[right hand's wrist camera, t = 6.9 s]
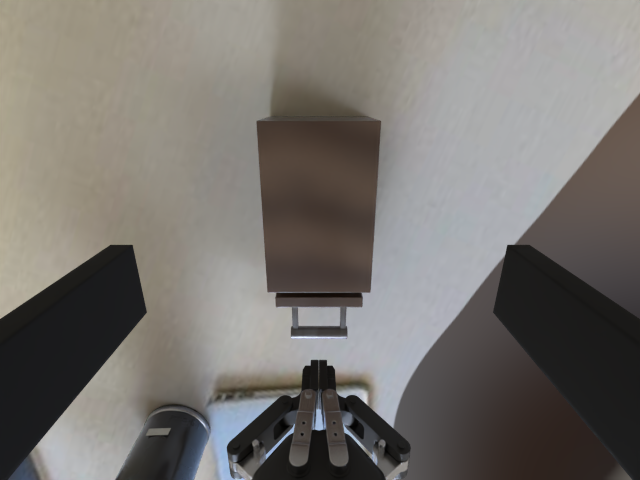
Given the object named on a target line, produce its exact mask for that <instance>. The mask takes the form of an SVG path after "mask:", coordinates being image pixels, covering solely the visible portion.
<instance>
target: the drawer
mask: <svg viewBox="0 0 640 480" xmlns="http://www.w3.org/2000/svg"><path fill="white" fill-rule="evenodd" d="M362 300H363V297H362V293H276V307H292V320H293V326H292V327H291V338H292V339H347V326H346V307H362ZM298 307H340V326H298Z"/></svg>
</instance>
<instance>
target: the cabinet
mask: <svg viewBox="0 0 640 480" xmlns="http://www.w3.org/2000/svg"><path fill="white" fill-rule="evenodd" d="M380 130H381V121H379V120H376V119H373V118H370V117H268V118H265V119H262V120H259V121H257V135H258V150H259V166H260V181H261V197H262V212H263V228H264V243H265V259H266V274H267V290H268V293H370V290H371V274H372V258H373V242H374V226H375V210H376V194H377V178H378V162H379V146H380Z"/></svg>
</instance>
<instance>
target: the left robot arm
mask: <svg viewBox="0 0 640 480" xmlns="http://www.w3.org/2000/svg"><path fill="white" fill-rule="evenodd" d="M318 389H319V409H321V414H322V422H323V430H320V431H318V430H315V424H316V409H318ZM294 424H295V428H294V433H292V434H290V435H289V436H288V437H286V438H285V439H284V441H283V442H282V443H281V444H280V445H279V446H278V447H277V448H276V449H275V450H274V452H273V453H272V454H271V455H270V456H269V457H268V458H267V459H266V454H267V453H268V452H269V451H270V450H271V449H272V448H273V447H274V446H275V445H276V444H277V443H278V442H279V441H280V440H281V439H282V438H283V437H284V436H285V435H286V434H287V433H288V432H289V430H290V429H291V428H292V427H293V425H294ZM343 424H344V425H345V427H346V428H347V429H348V430H349V431H350V432H351V433H352V434H353V435H354V436H355V437H356V439H357V440H358V441H359V442H360V443H361V444H362V445H363V446H364V447H365V448H366V449H367V450H368V451H369V452H370V453H371V454H372V459H371V458H370V457H369V456H368V455H367V454H366V453H365V452H364V451H363V449H362V448H361V447H360V446H359V445H358V444H357V443H356V442H355V441H354V439H353V438H352V437H350V436H349V435H348V434H346V433H344V428H343ZM209 436H210V427H209V425H208V423H207V421H206V420H205V418H204V417H203V416H202V415H200V414H199V413H198V412H196V411H194V410H192V409H190V408H187V407H183V406H176V405H170V406H164V407H161V408H158V409H156V410H155V411H153V412H152V413H151V414H150V415H149V417H148V418H147V420H146V422H145V425H144V428H143V429H142V431H141V433H140V435H139V437H138V438H137V440H136V442H135V444H134V446H133V447H132V449H131V451H130V453H129V455H128V457H127V458H126V460H125V462H124V464H123V466H122V468H121V470H120V471H119V473H118V475H117V477H116V479H115V480H194V479H195V476H196V473H197V470H198V467H199V464H200V461H201V458H202V455H203V452H204V449H205V446H206V444H207V442H208V439H209ZM410 449H411V448H410V444H409V443H408V441H407V440H406V439H404V438H403V437H402V436H401V435H400V434H399V433H398V432H397V431H395V430H394V429H393V428H392V427H391V426H390V425H389V424H388V423H387V422H385V421H384V420H383V419H382V418H381V417H380V416H379V415H378V414H376V413H375V412H374V411H373V410H372V409H371V408H370V407H369V406H368V405H366V404H365V403H364V402H363V401H362V400H361V399H360V398H359V397H357V396H355V395H350V396H347V397H346V398H343V397H341V396H339V395H338V394H337V392H336V382H335V369H334V368H333V366H327V360H311V366H305V367H304V369H303V375H302V391H301V393H300V394H299V395H298V396H297V397H294V398H291V397H290V396H287V395H284V396H281V397H280V398H278V399H277V400H276V401H275V402H274V403H273V404H272V405H271V406H269V407H268V408H267V409H266V410H265V411H264V412H263V413H262V414H260V415H259V416H258V417H257V418H256V419H255V420H254V421H253V422H252V423H250V424H249V425H248V426H247V427H246V428H245V429H244V430H243V431H241V432H240V433H239V434H238V435H237V436H236V437H235V438H234V439H232V440H231V441H230V442H229V444H228V445H227V453H228V460H229V467H230V474H231V476H232V478H234V479H241V478H244V479H245V480H393V479H394V478H398V479H403V478H405V477H406V475H407V470H408V466H409V459H410ZM372 460H373V461H372Z"/></svg>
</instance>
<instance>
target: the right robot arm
mask: <svg viewBox="0 0 640 480" xmlns="http://www.w3.org/2000/svg"><path fill="white" fill-rule="evenodd" d="M146 313H147V311H146V306H145V301H144V297H143V292H142V287H141V283H140V278H139V273H138V269H137V264H136V259H135V254H134V250H133V245H110V246H108V247H107V248H105V249H104V250H102V251H101V252H99V253H98V254H96V255H95V256H93V257H92V258H90V259H89V260H87V261H86V262H85V263H83V264H82V265H80V266H79V267H77V268H76V269H74V270H73V271H71V272H70V273H68V274H67V275H65V276H64V277H62V278H61V279H59V280H58V281H56V282H55V283H53V284H52V285H50V286H49V287H47V288H46V289H44V290H43V291H41V292H40V293H38V294H37V295H35V296H34V297H32V298H31V299H29V300H28V301H26V302H25V303H23V304H22V305H21V306H19V307H18V308H16V309H15V310H13V311H12V312H10V313H9V314H7V315H6V316H4V317H3V318H1V319H0V480H8V479H9V477H10V476H11V475H12V474H13V473H14V471H15V470H16V469H17V468H18V467H19V465H20V464H21V463H22V462H23V461H24V459H25V458H26V457H27V456H28V455H29V453H30V452H31V451H32V450H33V449H34V447H35V446H36V445H37V444H38V442H39V441H40V440H41V439H42V438H43V436H44V435H45V434H46V433H47V432H48V430H49V429H50V428H51V427H52V426H53V424H54V423H55V422H56V421H57V420H58V418H59V417H60V416H61V415H62V414H63V412H64V411H65V410H66V409H67V408H68V406H69V405H70V404H71V403H72V402H73V400H74V399H75V398H76V397H77V396H78V394H79V393H80V392H81V391H82V390H83V388H84V387H85V386H86V385H87V384H88V382H89V381H90V380H91V379H92V378H93V376H94V375H95V374H96V373H97V372H98V370H99V369H100V368H101V367H102V366H103V364H104V363H105V362H106V361H107V360H108V358H109V357H110V356H111V355H112V354H113V352H114V351H115V350H116V349H117V348H118V346H119V345H120V344H121V343H122V342H123V340H124V339H125V338H126V337H127V336H128V334H129V333H130V332H131V331H132V330H133V328H134V327H135V326H136V325H137V324H138V322H139V321H140V320H141V319H142V318H143V316H144V315H145V314H146ZM493 313H494V314H495V315H496V316H497V318H498V319H499V320H500V321H501V322H502V323H503V325H504V326H505V327H506V328H507V330H508V331H509V332H510V333H511V334H512V336H513V337H514V338H515V339H516V340H517V342H518V343H519V344H520V345H521V346H522V348H523V349H524V350H525V351H526V352H527V354H528V355H529V356H530V357H531V358H532V360H533V361H534V362H535V363H536V364H537V366H538V367H539V368H540V369H541V370H542V372H543V373H544V374H545V375H546V376H547V378H548V379H549V380H550V381H551V382H552V384H553V385H554V386H555V387H556V388H557V390H558V391H559V392H560V393H561V394H562V396H563V397H564V398H565V399H566V400H567V402H568V403H569V404H570V405H571V406H572V408H573V409H574V410H575V411H576V412H577V414H578V415H579V416H580V417H581V418H582V420H583V421H584V422H585V423H586V424H587V426H588V427H589V428H590V429H591V430H592V432H593V433H594V434H595V435H596V436H597V438H598V439H599V440H600V441H601V442H602V444H603V445H604V446H605V447H606V448H607V450H608V451H609V452H610V453H611V454H612V456H613V457H614V458H615V459H616V460H617V462H618V463H619V464H620V465H621V467H622V468H623V469H624V470H625V471H626V473H627V474H628V475H629V476H630V477H631V479H632V480H640V319H639V318H637V317H636V316H634V315H633V314H631V313H630V312H628V311H627V310H625V309H624V308H622V307H621V306H619V305H618V304H617V303H615V302H614V301H612V300H611V299H609V298H608V297H606V296H605V295H603V294H602V293H600V292H599V291H597V290H596V289H594V288H593V287H591V286H590V285H588V284H587V283H585V282H584V281H582V280H581V279H579V278H578V277H576V276H575V275H573V274H572V273H570V272H569V271H567V270H566V269H564V268H563V267H561V266H560V265H558V264H557V263H555V262H554V261H553V260H551V259H550V258H548V257H547V256H545V255H544V254H542V253H541V252H539V251H538V250H536V249H535V248H533V247H532V246H530V245H507V250H506V254H505V259H504V264H503V269H502V273H501V278H500V283H499V287H498V292H497V297H496V302H495V306H494V311H493Z"/></svg>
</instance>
